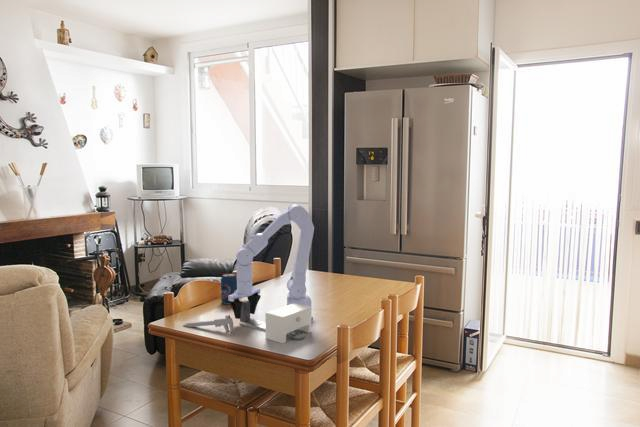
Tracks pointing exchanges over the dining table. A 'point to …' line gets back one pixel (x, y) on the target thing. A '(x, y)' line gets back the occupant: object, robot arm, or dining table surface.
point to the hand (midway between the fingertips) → (245, 315)
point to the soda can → (228, 286)
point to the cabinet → (287, 321)
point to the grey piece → (247, 320)
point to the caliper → (214, 323)
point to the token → (297, 335)
